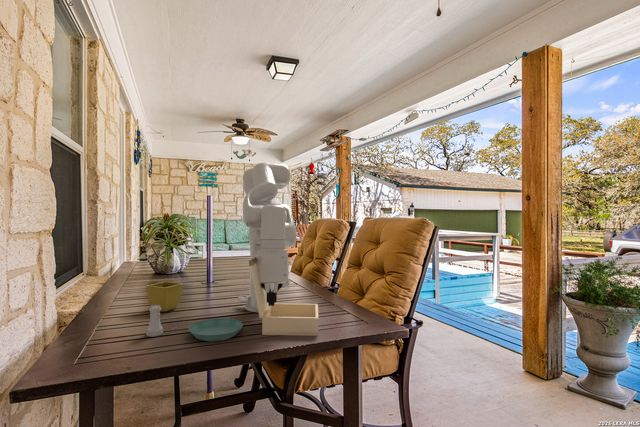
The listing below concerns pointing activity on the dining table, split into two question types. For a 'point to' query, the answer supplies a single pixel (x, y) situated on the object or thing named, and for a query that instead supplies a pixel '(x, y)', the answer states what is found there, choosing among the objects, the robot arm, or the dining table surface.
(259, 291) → the box lid
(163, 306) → the flower pot
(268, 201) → the robot arm
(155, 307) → the rook chess piece
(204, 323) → the saucer
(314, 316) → the cream open box
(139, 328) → the dining table surface
